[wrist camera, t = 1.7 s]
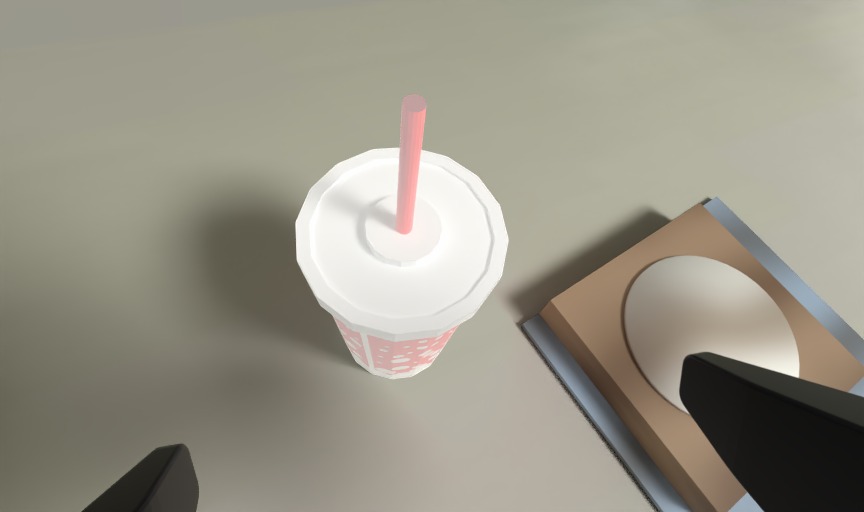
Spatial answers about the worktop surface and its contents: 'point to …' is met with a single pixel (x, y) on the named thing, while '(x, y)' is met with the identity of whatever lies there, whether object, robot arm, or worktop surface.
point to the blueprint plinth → (687, 346)
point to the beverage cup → (400, 249)
